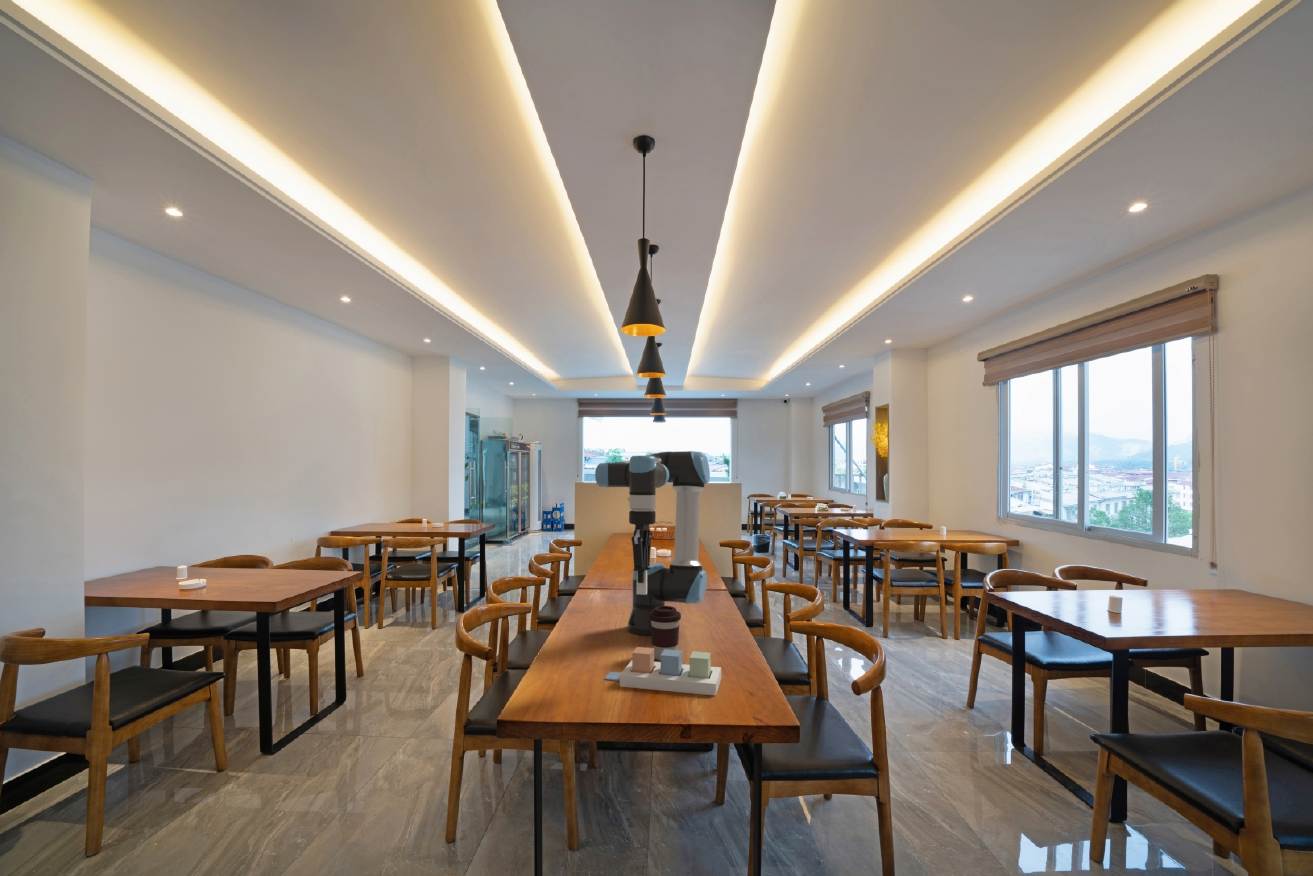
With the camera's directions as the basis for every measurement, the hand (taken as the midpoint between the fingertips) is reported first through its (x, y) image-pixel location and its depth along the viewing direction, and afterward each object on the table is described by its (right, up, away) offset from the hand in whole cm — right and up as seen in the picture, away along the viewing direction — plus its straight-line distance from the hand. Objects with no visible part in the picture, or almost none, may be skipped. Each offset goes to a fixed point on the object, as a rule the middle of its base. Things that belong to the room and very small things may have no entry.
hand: (641, 593), depth 159 cm
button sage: (+16, -20, -6) cm, 27 cm away
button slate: (+8, -21, -4) cm, 22 cm away
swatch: (-7, -23, 0) cm, 25 cm away
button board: (+8, -23, -4) cm, 25 cm away
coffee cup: (+7, -24, +16) cm, 30 cm away
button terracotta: (0, -21, -2) cm, 21 cm away
